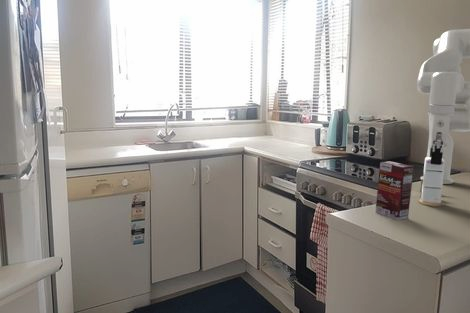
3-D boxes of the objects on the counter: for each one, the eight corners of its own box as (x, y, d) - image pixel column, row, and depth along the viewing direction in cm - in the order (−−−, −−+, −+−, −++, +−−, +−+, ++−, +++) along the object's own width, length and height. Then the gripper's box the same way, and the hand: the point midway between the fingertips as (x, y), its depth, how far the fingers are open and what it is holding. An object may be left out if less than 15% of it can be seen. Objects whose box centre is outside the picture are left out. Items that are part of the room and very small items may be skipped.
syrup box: (441, 203, 128) (446, 160, 125) (421, 201, 130) (425, 158, 128) (439, 199, 133) (444, 157, 131) (420, 197, 135) (424, 156, 133)
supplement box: (374, 212, 119) (378, 161, 117) (385, 210, 122) (389, 160, 119) (398, 220, 112) (403, 166, 109) (409, 218, 114) (414, 165, 112)
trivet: (419, 199, 136) (419, 196, 136) (441, 202, 133) (441, 199, 133) (419, 204, 130) (419, 201, 130) (442, 207, 127) (442, 204, 127)
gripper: (456, 112, 117) (449, 167, 121) (451, 109, 133) (446, 158, 136) (428, 111, 121) (423, 165, 124) (427, 108, 136) (422, 156, 139)
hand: (435, 161), depth 130 cm, fingers open, 9 cm apart
